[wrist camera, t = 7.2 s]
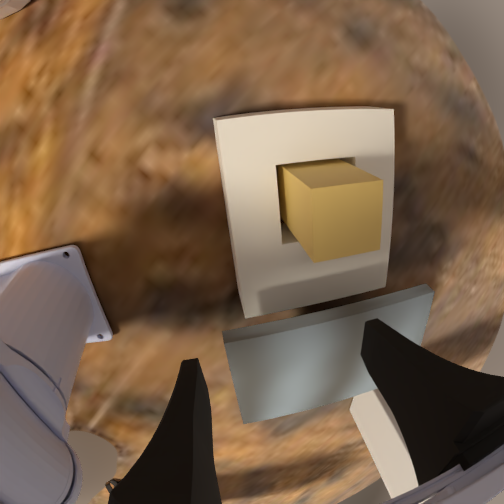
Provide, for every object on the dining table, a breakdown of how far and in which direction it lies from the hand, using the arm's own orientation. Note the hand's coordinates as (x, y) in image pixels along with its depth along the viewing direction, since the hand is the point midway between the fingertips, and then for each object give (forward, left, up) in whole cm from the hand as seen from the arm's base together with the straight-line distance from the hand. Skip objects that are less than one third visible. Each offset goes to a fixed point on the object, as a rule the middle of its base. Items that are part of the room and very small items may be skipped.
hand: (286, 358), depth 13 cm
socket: (+4, +4, -10) cm, 11 cm away
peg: (+4, +4, -10) cm, 12 cm away
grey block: (+4, -6, -10) cm, 12 cm away
